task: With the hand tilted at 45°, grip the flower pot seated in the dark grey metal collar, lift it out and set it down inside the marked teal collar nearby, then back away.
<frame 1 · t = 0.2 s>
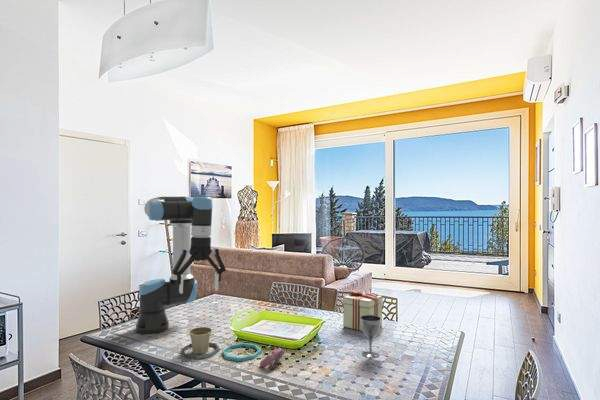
hand: (198, 291, 144), 28 cm above the table, tool pointing down, fingers open, 13 cm apart
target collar: (241, 353, 153), on the table
gift box: (362, 325, 187), on the table
flower pot: (200, 352, 154), resting in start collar
pink toy animal: (272, 364, 143), on the table
wine glass: (370, 355, 151), on the table
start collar: (200, 351, 154), on the table
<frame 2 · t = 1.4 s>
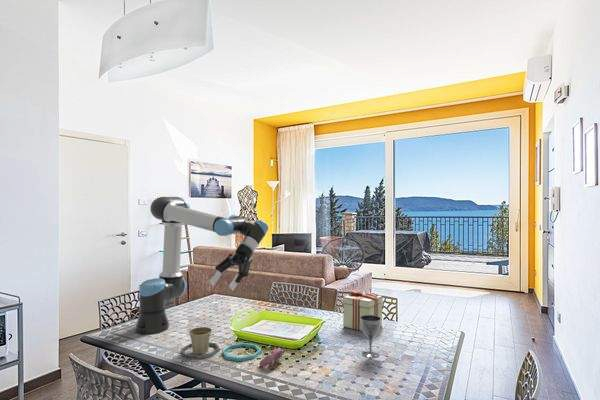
hand: (220, 286, 162), 25 cm above the table, tool tilted 45°, fingers open, 13 cm apart
nothing on the table moved.
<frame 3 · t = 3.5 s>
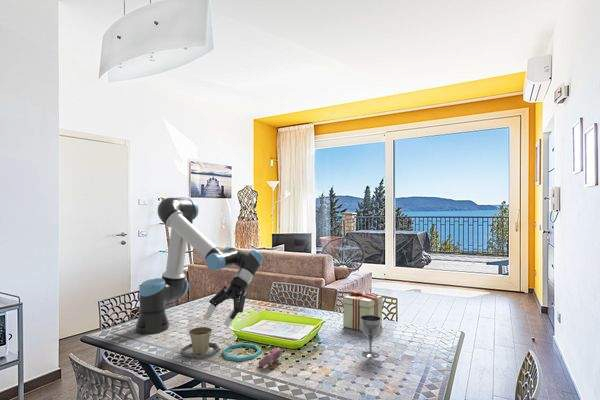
hand: (215, 322, 159), 11 cm above the table, tool tilted 45°, fingers open, 13 cm apart
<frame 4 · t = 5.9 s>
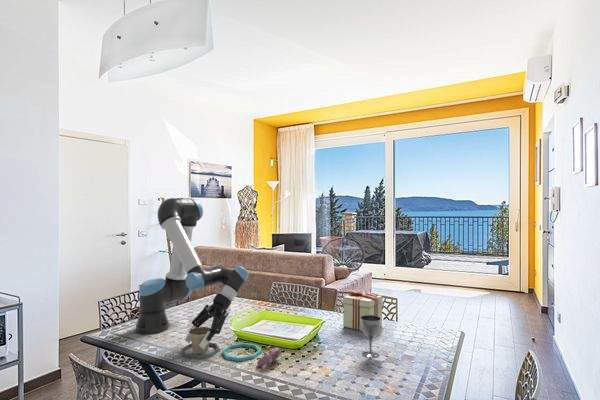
hand: (194, 344, 152), 4 cm above the table, tool tilted 45°, fingers closed on flower pot, 9 cm apart
flower pot: (200, 351, 154), resting in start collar, touching gripper
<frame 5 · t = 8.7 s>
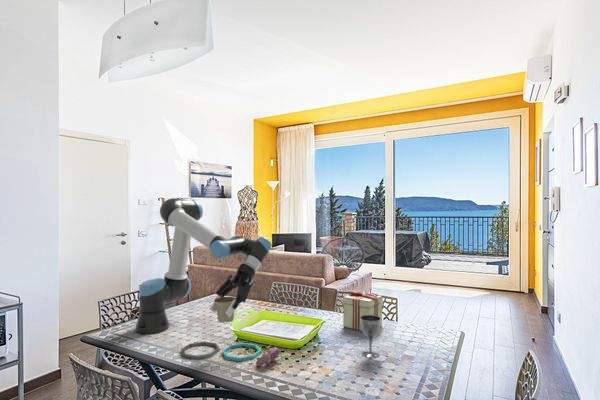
hand: (219, 312, 150), 17 cm above the table, tool tilted 45°, fingers closed on flower pot, 9 cm apart
flower pot: (225, 321, 152), point 13 cm above the table, touching gripper
when the fingers open (5 cm above the table, at t = 11.6 s): flower pot drops 1 cm, resting in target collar.
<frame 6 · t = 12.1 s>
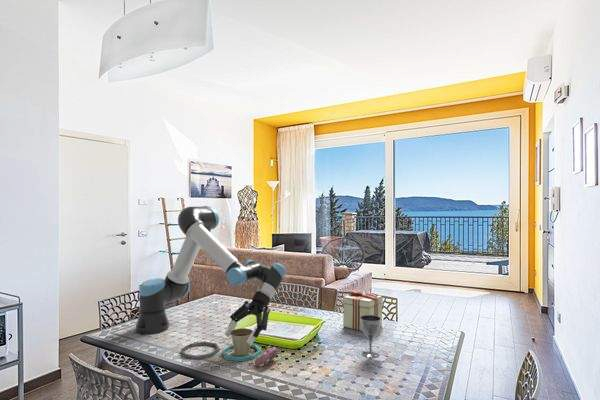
hand: (237, 339, 151), 6 cm above the table, tool tilted 45°, fingers open, 13 cm apart
flower pot: (241, 353, 153), resting in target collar
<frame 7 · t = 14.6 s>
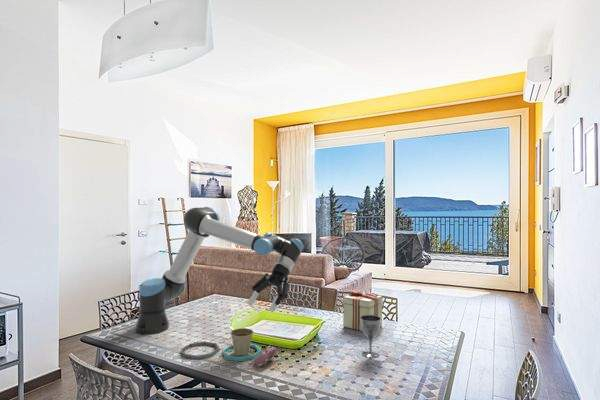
hand: (259, 307, 161), 16 cm above the table, tool tilted 45°, fingers open, 13 cm apart
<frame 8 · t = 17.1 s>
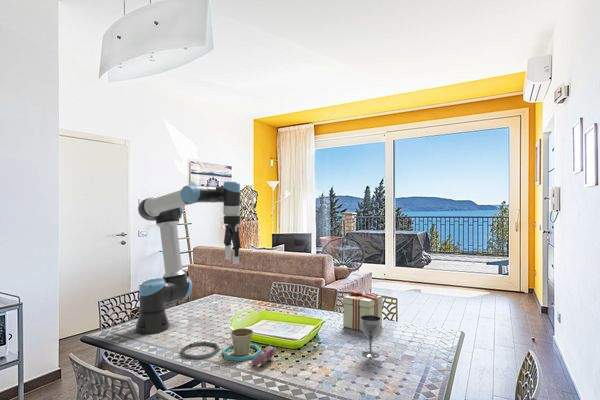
hand: (231, 261, 170), 35 cm above the table, tool pointing down, fingers open, 13 cm apart
at the end: flower pot 0.0 cm off-centre on the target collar, point 0.0 cm above the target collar's base; flower pot tilted 0°; the gripper is holding nothing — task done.
